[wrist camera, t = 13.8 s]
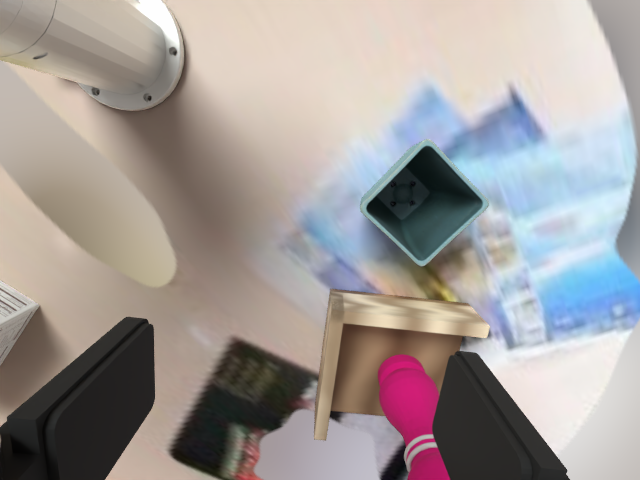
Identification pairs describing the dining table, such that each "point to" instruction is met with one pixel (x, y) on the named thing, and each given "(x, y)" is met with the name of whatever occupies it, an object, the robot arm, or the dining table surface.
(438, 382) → the board
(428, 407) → the pepper mill
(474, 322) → the corner fence
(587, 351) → the dining table surface
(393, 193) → the flower pot
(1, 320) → the supplement box
